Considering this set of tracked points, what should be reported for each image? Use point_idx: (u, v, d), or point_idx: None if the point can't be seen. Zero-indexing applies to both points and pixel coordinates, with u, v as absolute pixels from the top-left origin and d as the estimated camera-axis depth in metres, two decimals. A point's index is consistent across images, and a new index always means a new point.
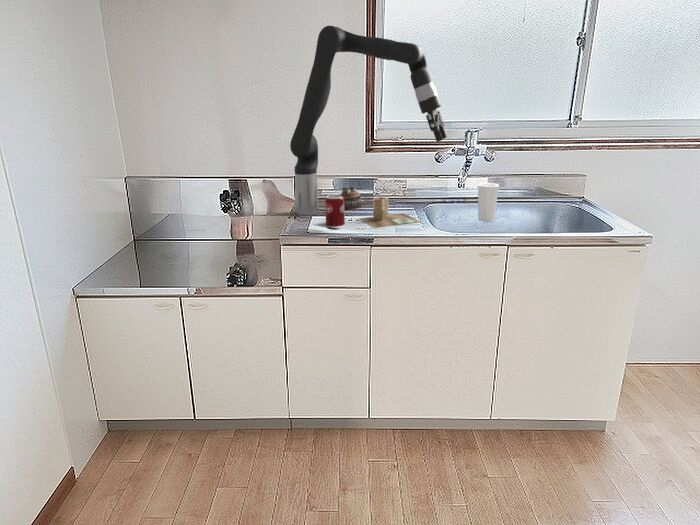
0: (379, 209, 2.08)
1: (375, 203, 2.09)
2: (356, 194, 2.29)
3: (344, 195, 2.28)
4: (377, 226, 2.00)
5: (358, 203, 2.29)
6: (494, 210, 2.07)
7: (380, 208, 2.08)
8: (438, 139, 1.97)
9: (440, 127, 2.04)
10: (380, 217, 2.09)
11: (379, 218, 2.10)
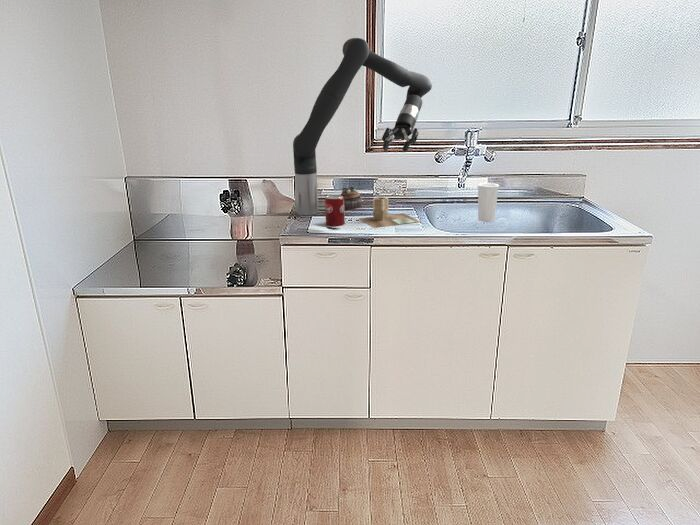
0: (379, 209, 2.08)
1: (375, 203, 2.09)
2: (356, 194, 2.29)
3: (344, 195, 2.28)
4: (377, 226, 2.00)
5: (358, 203, 2.29)
6: (494, 210, 2.07)
7: (380, 208, 2.08)
8: (406, 149, 2.10)
9: (388, 141, 2.16)
10: (380, 217, 2.09)
11: (379, 218, 2.10)
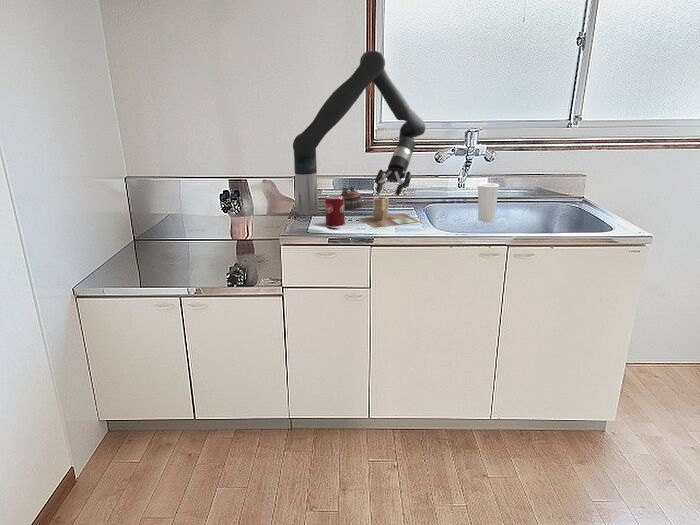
0: (379, 209, 2.08)
1: (375, 203, 2.09)
2: (356, 194, 2.29)
3: (344, 195, 2.28)
4: (377, 226, 2.00)
5: (358, 203, 2.29)
6: (494, 210, 2.07)
7: (380, 208, 2.08)
8: (399, 192, 2.11)
9: (381, 183, 2.17)
10: (380, 217, 2.09)
11: (379, 218, 2.10)
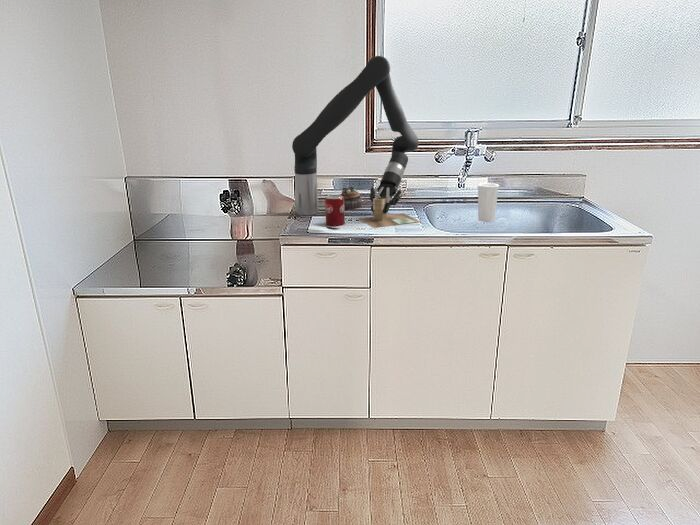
0: (379, 209, 2.08)
1: (375, 203, 2.09)
2: (356, 194, 2.29)
3: (344, 195, 2.28)
4: (377, 226, 2.00)
5: (358, 203, 2.29)
6: (494, 210, 2.07)
7: (380, 208, 2.08)
8: (386, 211, 2.08)
9: None
10: (380, 217, 2.09)
11: (379, 218, 2.10)
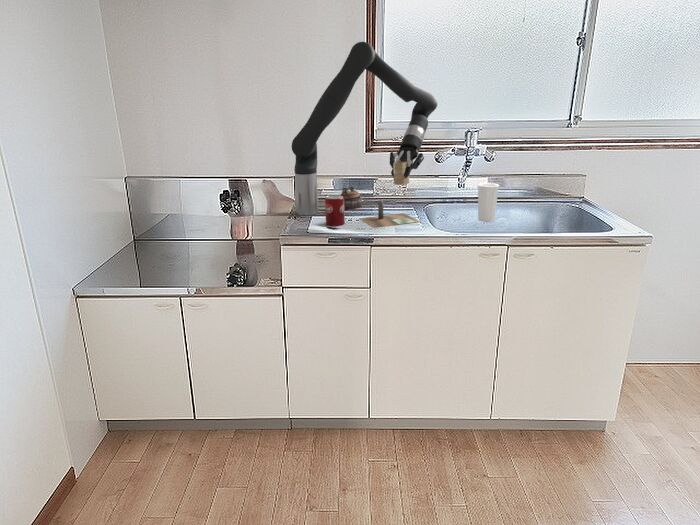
0: (400, 173, 1.99)
1: (395, 167, 2.00)
2: (356, 194, 2.29)
3: (344, 195, 2.28)
4: (377, 226, 2.00)
5: (358, 203, 2.29)
6: (494, 210, 2.07)
7: (401, 172, 1.99)
8: (407, 175, 1.99)
9: None
10: (401, 182, 2.00)
11: (399, 183, 2.01)
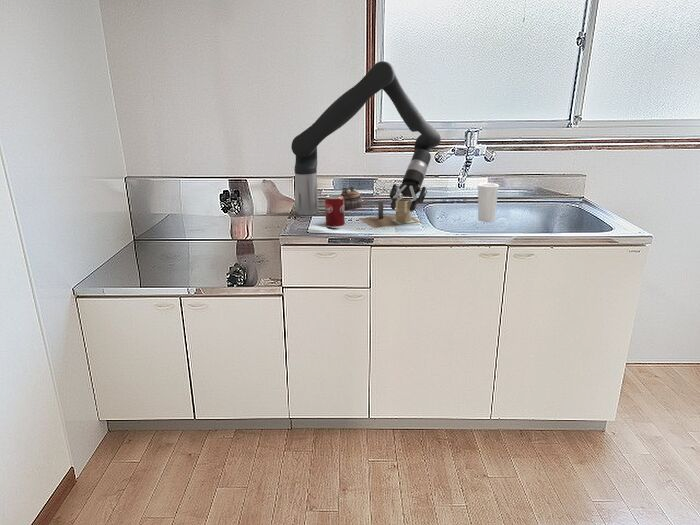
0: (402, 211, 2.03)
1: (398, 205, 2.03)
2: (356, 194, 2.29)
3: (344, 195, 2.28)
4: (377, 226, 2.00)
5: (358, 203, 2.29)
6: (494, 210, 2.07)
7: (403, 211, 2.03)
8: (413, 209, 2.01)
9: (396, 199, 2.07)
10: (403, 219, 2.04)
11: (401, 221, 2.04)
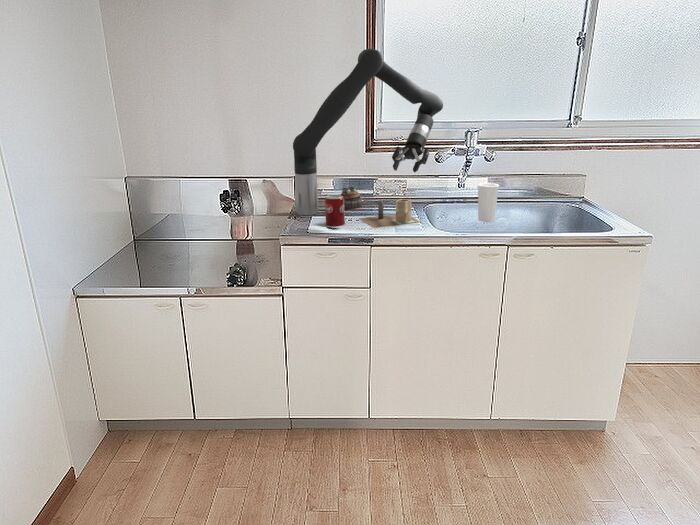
0: (402, 211, 2.03)
1: (398, 205, 2.03)
2: (356, 194, 2.29)
3: (344, 195, 2.28)
4: (377, 226, 2.00)
5: (358, 203, 2.29)
6: (494, 210, 2.07)
7: (403, 211, 2.03)
8: (416, 169, 2.08)
9: (398, 160, 2.15)
10: (403, 219, 2.04)
11: (401, 221, 2.04)
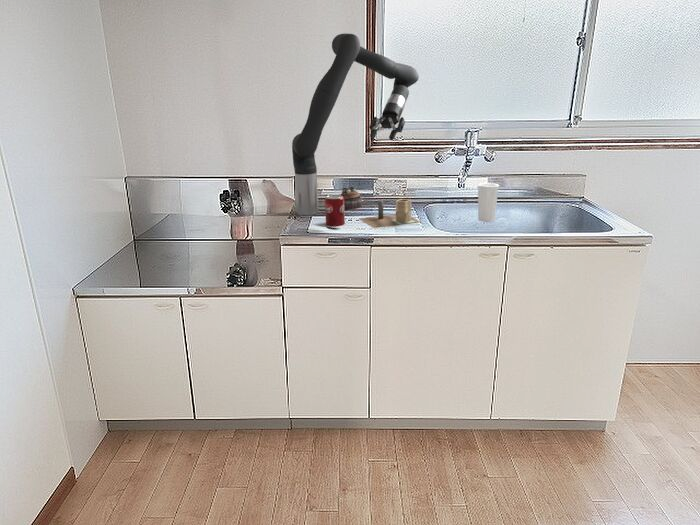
0: (402, 211, 2.03)
1: (398, 205, 2.03)
2: (356, 194, 2.29)
3: (344, 195, 2.28)
4: (377, 226, 2.00)
5: (358, 203, 2.29)
6: (494, 210, 2.07)
7: (403, 211, 2.03)
8: (393, 137, 2.16)
9: (376, 130, 2.22)
10: (403, 219, 2.04)
11: (401, 221, 2.04)
